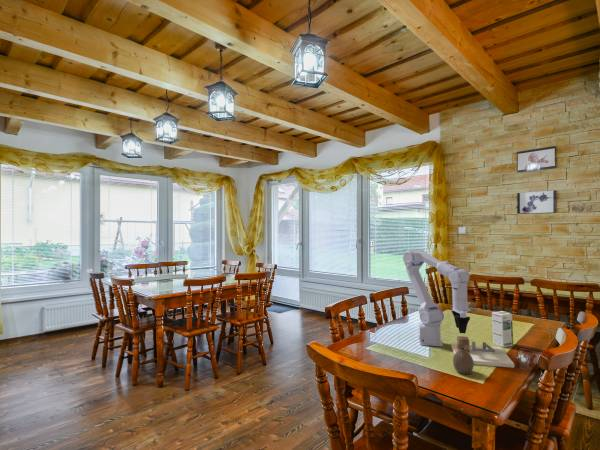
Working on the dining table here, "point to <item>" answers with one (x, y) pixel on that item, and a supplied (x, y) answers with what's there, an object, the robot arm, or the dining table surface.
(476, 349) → the bent wire
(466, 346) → the walnut block
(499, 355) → the board
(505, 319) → the syrup box
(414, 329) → the dining table surface
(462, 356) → the vase
